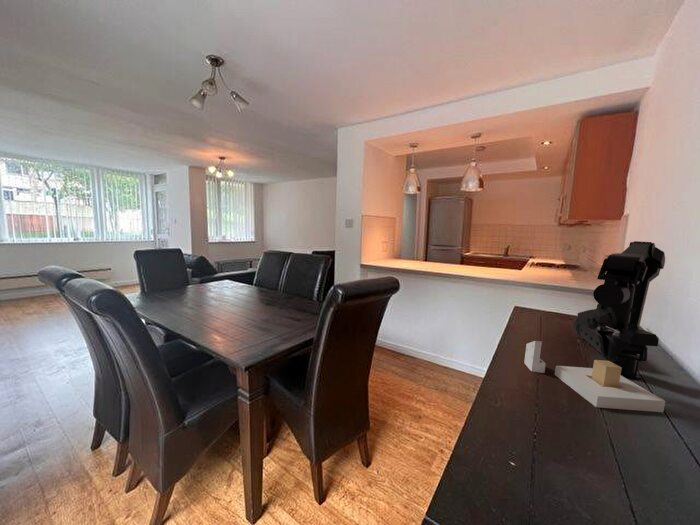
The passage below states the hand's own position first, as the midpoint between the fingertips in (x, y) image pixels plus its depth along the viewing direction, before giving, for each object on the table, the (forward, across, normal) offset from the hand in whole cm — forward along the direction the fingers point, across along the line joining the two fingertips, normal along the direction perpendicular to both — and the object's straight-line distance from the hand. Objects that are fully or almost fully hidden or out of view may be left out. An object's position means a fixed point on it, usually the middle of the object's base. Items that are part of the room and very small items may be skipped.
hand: (608, 357), depth 78 cm
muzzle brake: (+10, -32, +23) cm, 41 cm away
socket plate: (+10, 0, 0) cm, 10 cm away
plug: (+10, 0, 0) cm, 10 cm away
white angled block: (+10, -12, -12) cm, 20 cm away
